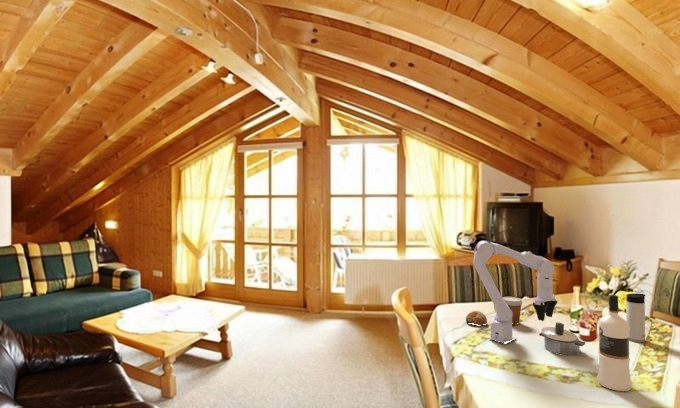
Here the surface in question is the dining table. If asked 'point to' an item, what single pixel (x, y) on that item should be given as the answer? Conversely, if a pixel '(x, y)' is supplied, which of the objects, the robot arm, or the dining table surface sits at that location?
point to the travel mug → (636, 317)
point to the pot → (562, 346)
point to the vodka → (614, 350)
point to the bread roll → (476, 318)
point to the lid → (559, 333)
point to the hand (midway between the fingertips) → (545, 318)
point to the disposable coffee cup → (514, 307)
